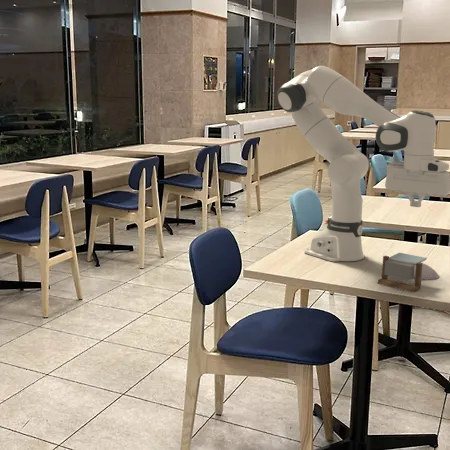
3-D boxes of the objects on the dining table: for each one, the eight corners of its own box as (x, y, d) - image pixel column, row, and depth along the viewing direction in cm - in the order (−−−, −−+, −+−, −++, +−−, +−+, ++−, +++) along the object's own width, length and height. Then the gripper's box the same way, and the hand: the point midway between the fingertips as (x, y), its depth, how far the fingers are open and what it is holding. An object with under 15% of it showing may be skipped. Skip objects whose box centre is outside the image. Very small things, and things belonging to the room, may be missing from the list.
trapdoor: (383, 274, 185) (384, 259, 184) (398, 266, 194) (399, 252, 193) (411, 280, 179) (412, 265, 178) (425, 272, 188) (426, 257, 187)
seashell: (418, 260, 202) (444, 261, 194) (420, 276, 203) (445, 277, 194) (400, 265, 196) (426, 266, 188) (402, 281, 197) (427, 282, 188)
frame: (377, 283, 187) (379, 258, 185) (383, 280, 190) (385, 255, 188) (414, 292, 179) (417, 266, 177) (420, 288, 182) (422, 263, 180)
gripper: (383, 161, 185) (380, 204, 188) (446, 167, 172) (443, 212, 175) (391, 160, 189) (389, 201, 192) (454, 165, 176) (450, 209, 179)
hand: (415, 206), depth 184 cm, fingers closed
